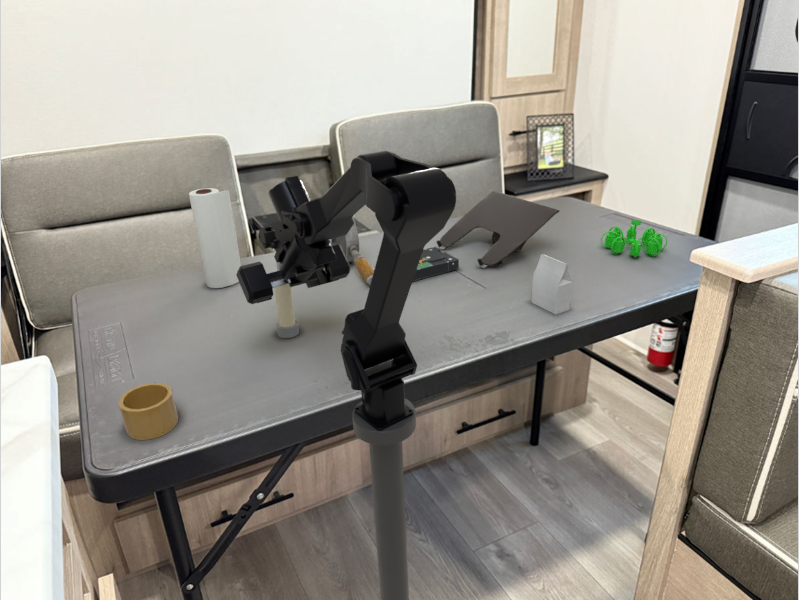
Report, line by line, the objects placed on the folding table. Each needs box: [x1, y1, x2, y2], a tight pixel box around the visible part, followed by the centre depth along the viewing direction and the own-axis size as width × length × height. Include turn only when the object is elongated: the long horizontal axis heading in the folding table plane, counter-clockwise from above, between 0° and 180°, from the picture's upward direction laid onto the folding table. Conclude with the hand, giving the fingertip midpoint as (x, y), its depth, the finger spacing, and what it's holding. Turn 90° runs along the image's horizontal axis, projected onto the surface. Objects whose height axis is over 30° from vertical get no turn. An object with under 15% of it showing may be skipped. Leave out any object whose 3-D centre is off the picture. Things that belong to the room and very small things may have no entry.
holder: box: [117, 382, 179, 441], centre depth 88 cm, size 7×7×5 cm
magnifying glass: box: [332, 216, 375, 287], centre depth 139 cm, size 13×3×25 cm
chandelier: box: [600, 220, 668, 259], centre depth 144 cm, size 15×15×7 cm
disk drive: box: [412, 246, 460, 282], centre depth 139 cm, size 10×3×15 cm
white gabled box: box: [531, 253, 573, 315], centre depth 118 cm, size 4×7×10 cm, turn 31°
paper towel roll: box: [188, 187, 242, 289], centre depth 131 cm, size 7×6×21 cm
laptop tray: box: [436, 190, 560, 269], centre depth 148 cm, size 23×23×9 cm
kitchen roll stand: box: [273, 261, 300, 339], centre depth 110 cm, size 4×4×14 cm
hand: (284, 291), depth 109 cm, fingers open, 9 cm apart
